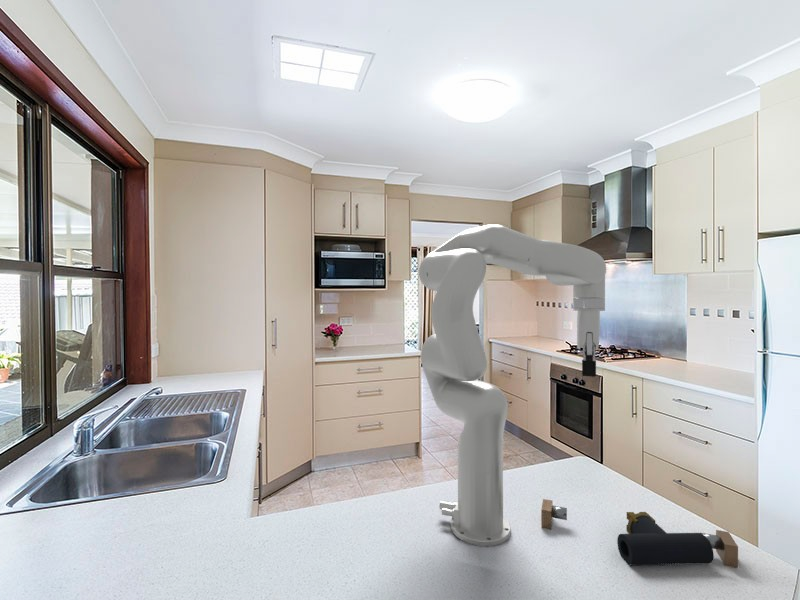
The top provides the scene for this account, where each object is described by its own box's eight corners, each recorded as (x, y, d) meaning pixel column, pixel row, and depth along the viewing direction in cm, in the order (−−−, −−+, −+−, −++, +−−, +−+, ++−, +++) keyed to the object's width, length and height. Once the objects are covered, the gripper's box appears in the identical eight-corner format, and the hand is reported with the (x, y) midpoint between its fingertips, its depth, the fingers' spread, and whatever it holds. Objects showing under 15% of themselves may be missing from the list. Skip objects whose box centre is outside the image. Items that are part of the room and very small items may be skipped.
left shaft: (541, 528, 88) (541, 509, 88) (543, 516, 93) (543, 498, 93) (566, 533, 86) (566, 514, 86) (566, 521, 91) (566, 503, 91)
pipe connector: (600, 509, 86) (671, 508, 86) (600, 534, 86) (671, 533, 87) (632, 543, 75) (714, 542, 75) (632, 572, 75) (713, 570, 75)
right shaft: (704, 561, 77) (704, 540, 77) (697, 546, 82) (697, 526, 81) (738, 568, 75) (738, 546, 75) (728, 552, 80) (728, 532, 80)
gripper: (573, 304, 115) (573, 369, 115) (573, 305, 101) (573, 380, 101) (603, 304, 112) (603, 371, 112) (607, 305, 98) (607, 382, 98)
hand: (589, 375), depth 107 cm, fingers closed
